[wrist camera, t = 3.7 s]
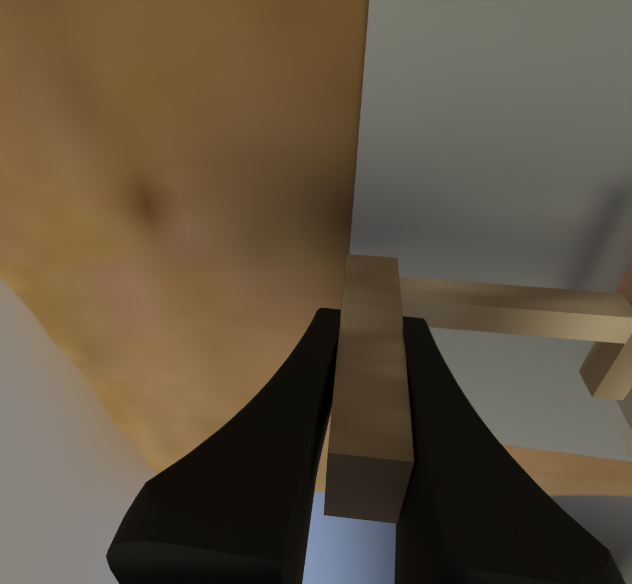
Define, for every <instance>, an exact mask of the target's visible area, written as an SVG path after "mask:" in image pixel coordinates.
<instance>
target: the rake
mask: <svg viewBox="0 0 632 584" xmlns="http://www.w3.org/2000/svg"><path fill="white" fill-rule="evenodd" d="M402 316H406V317H416V318H424V319H425V321H426V322H427V324H428V327H433V328H445V329H457V330H469V331H481V332H493V333H504V334H516V335H528V336H540V337H552V338H564V339H576V340H587V341H595V343H594V345H593V346H592V348H591V350H590V352H589V353H588V355H587V357H586V359H585V361H584V362H583V364H582V366H581V368H580V370H579V373H580V375H581V377H582V379H583V381H584V383H585V385H586V387H587V388H588V390H589V392H590V394H591V396H592V397H593V398H603V399H614V400H624V398H625V397H626V395H627V394H628V392H629V391H630V390H631V388H632V277H631V279H630V280H629V282H628V284H627V286H626V288H625V289H624V291H623V293H609V292H596V291H583V290H570V289H557V288H544V287H531V286H518V285H505V284H491V283H478V282H465V281H452V280H439V279H426V278H413V277H400V276H399V268H398V258H394V257H380V256H367V255H353V254H346V264H345V275H344V285H343V296H342V307H341V317H340V321H341V322H340V329H339V339H338V349H337V360H336V371H335V381H334V392H333V403H332V413H331V424H330V435H329V445H328V458H327V473H326V489H325V505H324V515H328V516H337V517H346V518H354V519H362V520H372V521H379V522H388V523H396V524H397V522H398V518H399V515H400V511H401V507H402V504H403V500H404V497H405V493H406V490H407V486H408V482H409V479H410V475H411V472H412V468H413V465H414V453H413V440H412V428H411V416H410V403H409V391H408V379H407V366H406V354H405V346H404V339H403V317H402Z"/></svg>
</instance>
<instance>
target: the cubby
mask: <svg viewBox="0 0 632 584" xmlns="http://www.w3.org/2000/svg"><path fill="white" fill-rule="evenodd" d="M349 254H353V255H367V256H380V257H394V258H398V268H399V276H400V277H413V278H426V279H439V280H452V281H465V282H478V283H491V284H505V285H518V286H531V287H544V288H557V289H570V290H583V291H596V292H609V293H615V291H616V290H617V288H618V286H619V284H620V282H621V280H622V278H623V277H624V275H625V273H626V271H627V269H628V267H629V266H630V264H631V262H632V0H369V10H368V23H367V36H366V48H365V61H364V74H363V86H362V99H361V112H360V124H359V137H358V149H357V162H356V175H355V187H354V200H353V213H352V225H351V238H350V250H349ZM429 329H430V331H431V334H432V336H433V338H434V340H435V342H436V344H437V346H438V348H439V350H440V352H441V354H442V356H443V358H444V360H445V362H446V364H447V366H448V367H449V369H450V371H451V373H452V374H453V376H454V378H455V380H456V381H457V383H458V385H459V386H460V388H461V389H462V391H463V393H464V394H465V396H466V397H467V399H468V400H469V402H470V403H471V405H472V406H473V408H474V409H475V411H476V412H477V413H478V415H479V416H480V418H481V419H482V420H483V422H484V423H485V424H486V426H487V427H488V428H489V429H490V431H491V432H492V433H493V435H494V436H495V437H496V438H497V440H498V441H499V442H500V443H501V445H508V446H515V447H523V448H531V449H538V450H546V451H553V452H561V453H568V454H576V455H584V456H591V457H599V458H606V459H614V460H622V461H629V462H632V388H631V390H630V391H629V392H628V394H627V395H626V397H625V398H624V400H614V399H603V398H593V397H592V396H591V394H590V392H589V390H588V388H587V387H586V385H585V383H584V381H583V379H582V377H581V375H580V373H579V370H580V368H581V366H582V364H583V362H584V361H585V359H586V357H587V355H588V353H589V352H590V350H591V348H592V346H593V345H594V343H595V341H587V340H576V339H564V338H552V337H540V336H528V335H516V334H504V333H493V332H481V331H469V330H457V329H445V328H433V327H429Z"/></svg>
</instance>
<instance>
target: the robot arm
mask: <svg viewBox="0 0 632 584" xmlns="http://www.w3.org/2000/svg"><path fill="white" fill-rule="evenodd" d="M340 317H341V310H339V309H329V308H320V309H318V310H317V312H316V314H315V316H314V318H313V320H312V322H311V324H310V325H309V327H308V329H307V331H306V332H305V334H304V335H303V337H302V338H301V340H300V341H299V343H298V344H297V346H296V347H295V349H294V350H293V351H292V353H291V354H290V356H289V357H288V358H287V360H286V361H285V362H284V363H283V365H282V366H281V367H280V368H279V370H278V371H277V372H276V373H275V374H274V376H273V377H272V378H271V379H270V380H269V382H268V383H267V384H266V385H265V386H264V387H263V388H262V389H261V390H260V392H259V393H258V394H257V395H256V396H255V397H254V398H253V399H252V400H251V401H250V402H249V403H248V404H247V405H246V406H245V407H244V408H243V409H242V410H240V411H239V412H238V413H237V414H236V415H235V416H234V417H233V418H232V419H231V420H230V421H229V422H227V423H226V424H225V425H224V426H223V427H222V428H220V429H219V430H218V431H217V432H215V433H214V434H213V435H212V436H210V437H209V438H208V439H207V440H205V441H204V442H203V443H202V444H200V445H199V446H198V447H196V448H195V449H194V450H193V451H191V452H190V453H189V454H187V455H186V456H184V457H183V458H182V459H180V460H179V461H177V462H176V463H174V464H173V465H171V466H170V467H168V468H167V469H165V470H164V471H162V472H161V473H159V474H158V475H156V476H155V477H153V478H152V479H150V480H149V481H147V482H146V483H145V485H144V486H143V488H142V489H141V491H140V492H139V494H138V495H137V497H136V498H135V500H134V501H133V503H132V505H131V506H130V508H129V509H128V511H127V513H126V514H125V516H124V518H123V520H122V522H121V524H120V526H119V528H118V531H117V533H116V535H115V537H114V539H113V541H112V543H111V545H110V547H109V549H108V552H107V555H106V558H107V561H108V564H109V567H110V570H111V571H112V573H113V574H114V576H115V578H116V579H117V581H118V582H119V584H302V580H303V573H304V565H305V557H306V549H307V541H308V534H309V527H310V519H311V512H312V504H313V497H314V490H315V482H316V476H317V471H318V465H319V461H320V456H321V452H322V448H323V443H324V439H325V435H326V430H327V426H328V422H329V417H330V413H331V409H332V403H333V392H334V381H335V371H336V360H337V349H338V339H339V329H340V322H341V321H340ZM402 317H403V339H404V346H405V354H406V366H407V379H408V391H409V403H410V416H411V428H412V440H413V453H414V465H413V468H412V472H411V475H410V479H409V482H408V486H407V490H406V493H405V497H404V500H403V504H402V507H401V511H400V515H399V518H398V522H397V524H396V551H395V584H625V582H624V580H623V577H622V575H621V573H620V571H619V569H618V567H617V565H616V563H615V561H614V559H613V557H612V555H611V553H610V551H609V550H608V549H607V548H605V546H603V545H602V544H601V543H600V542H599V541H598V540H597V539H596V538H594V537H593V536H592V535H591V534H590V533H589V532H588V531H586V530H585V529H584V528H583V527H582V526H581V525H580V524H578V523H577V522H576V521H575V520H574V519H573V518H571V517H570V516H569V515H568V514H567V513H566V512H565V511H564V510H563V509H561V507H560V506H559V505H558V504H557V503H555V502H554V501H553V500H552V499H551V498H550V497H549V496H548V495H547V494H546V493H545V492H544V491H543V490H542V489H541V488H540V487H539V486H538V485H537V484H536V482H535V481H534V480H533V479H532V478H531V477H530V476H529V475H528V474H527V473H526V472H525V471H524V469H523V468H522V467H521V466H520V465H519V464H518V463H517V462H516V461H515V460H514V459H513V458H512V456H511V455H510V454H509V453H508V452H507V451H506V449H505V448H504V447H503V446H502V445H501V443H500V442H499V441H498V440H497V438H496V437H495V436H494V435H493V433H492V432H491V431H490V429H489V428H488V427H487V426H486V424H485V423H484V422H483V420H482V419H481V418H480V416H479V415H478V413H477V412H476V411H475V409H474V408H473V406H472V405H471V403H470V402H469V400H468V399H467V397H466V396H465V394H464V393H463V391H462V389H461V388H460V386H459V385H458V383H457V381H456V380H455V378H454V376H453V374H452V373H451V371H450V369H449V367H448V366H447V364H446V362H445V360H444V358H443V356H442V354H441V352H440V350H439V348H438V346H437V344H436V342H435V340H434V338H433V336H432V334H431V331H430V329H429V327H428V324H427V322H426V321H425V319H424V318H416V317H406V316H402Z"/></svg>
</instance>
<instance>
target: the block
mask: <svg viewBox="0 0 632 584" xmlns="http://www.w3.org/2000/svg"><path fill="white" fill-rule="evenodd" d="M631 277H632V262H631V264H630V266H629V267H628V269H627V271H626V273H625V275H624V277H623V278H622V280H621V282H620V284H619V286H618V288H617V290H616V291H615V293H623V291H624V289H625V288H626V286H627V284H628V282H629V280H630V279H631Z"/></svg>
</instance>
